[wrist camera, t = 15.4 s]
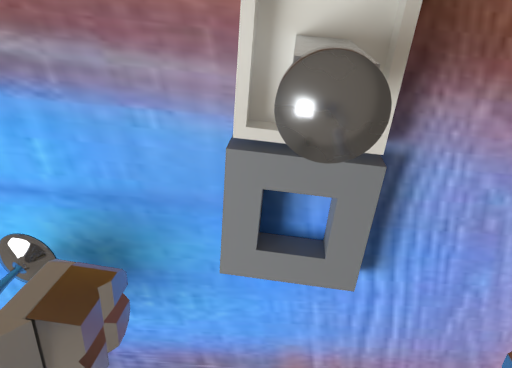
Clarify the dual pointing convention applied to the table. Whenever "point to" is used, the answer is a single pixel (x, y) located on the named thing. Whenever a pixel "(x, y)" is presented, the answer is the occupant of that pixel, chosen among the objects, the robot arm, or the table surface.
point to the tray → (320, 25)
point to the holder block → (303, 182)
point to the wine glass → (22, 257)
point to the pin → (331, 100)
